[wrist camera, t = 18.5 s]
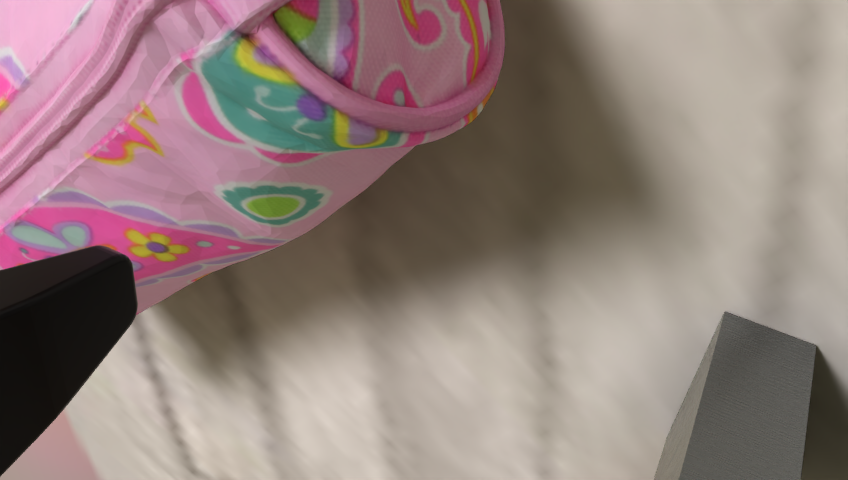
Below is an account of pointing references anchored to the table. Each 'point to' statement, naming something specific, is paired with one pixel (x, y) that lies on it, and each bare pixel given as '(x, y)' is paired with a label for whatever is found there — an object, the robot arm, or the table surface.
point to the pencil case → (219, 119)
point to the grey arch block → (743, 408)
